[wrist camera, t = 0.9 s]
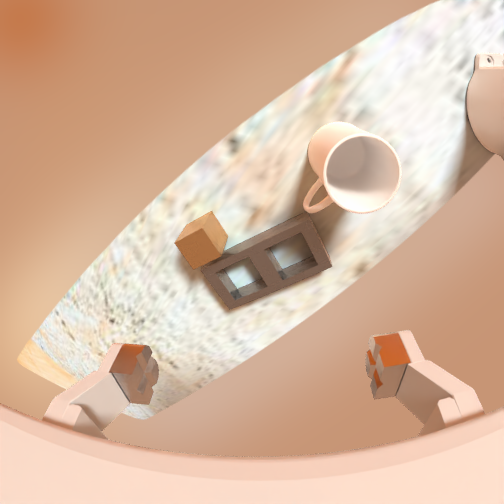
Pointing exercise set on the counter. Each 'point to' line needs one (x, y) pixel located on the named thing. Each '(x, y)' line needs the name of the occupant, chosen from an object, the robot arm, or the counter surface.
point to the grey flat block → (267, 262)
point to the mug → (352, 169)
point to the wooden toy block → (202, 240)
